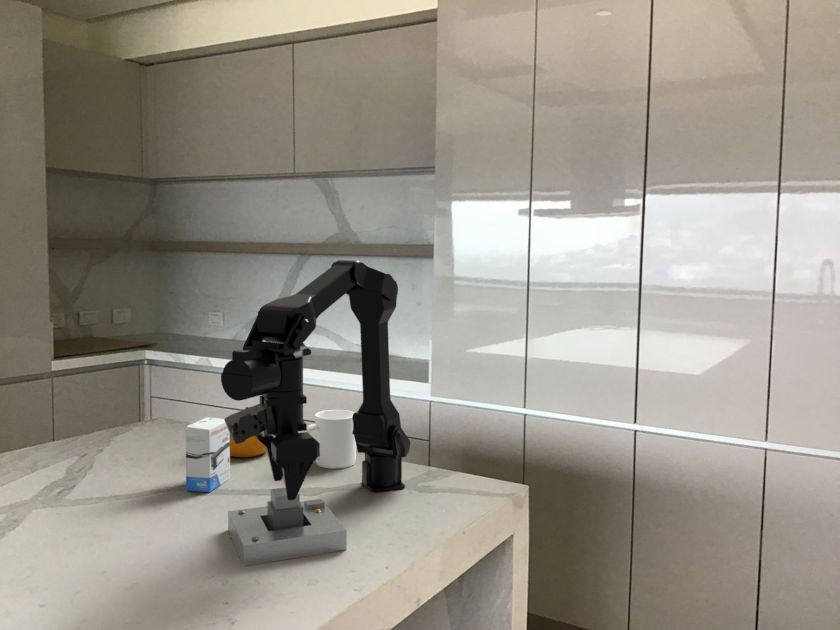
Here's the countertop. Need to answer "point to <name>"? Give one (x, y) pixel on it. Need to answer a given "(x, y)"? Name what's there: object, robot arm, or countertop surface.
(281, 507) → the plug
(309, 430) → the cup
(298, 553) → the faceplate
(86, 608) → the countertop surface
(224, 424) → the ink box
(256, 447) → the fruit
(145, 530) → the countertop surface
